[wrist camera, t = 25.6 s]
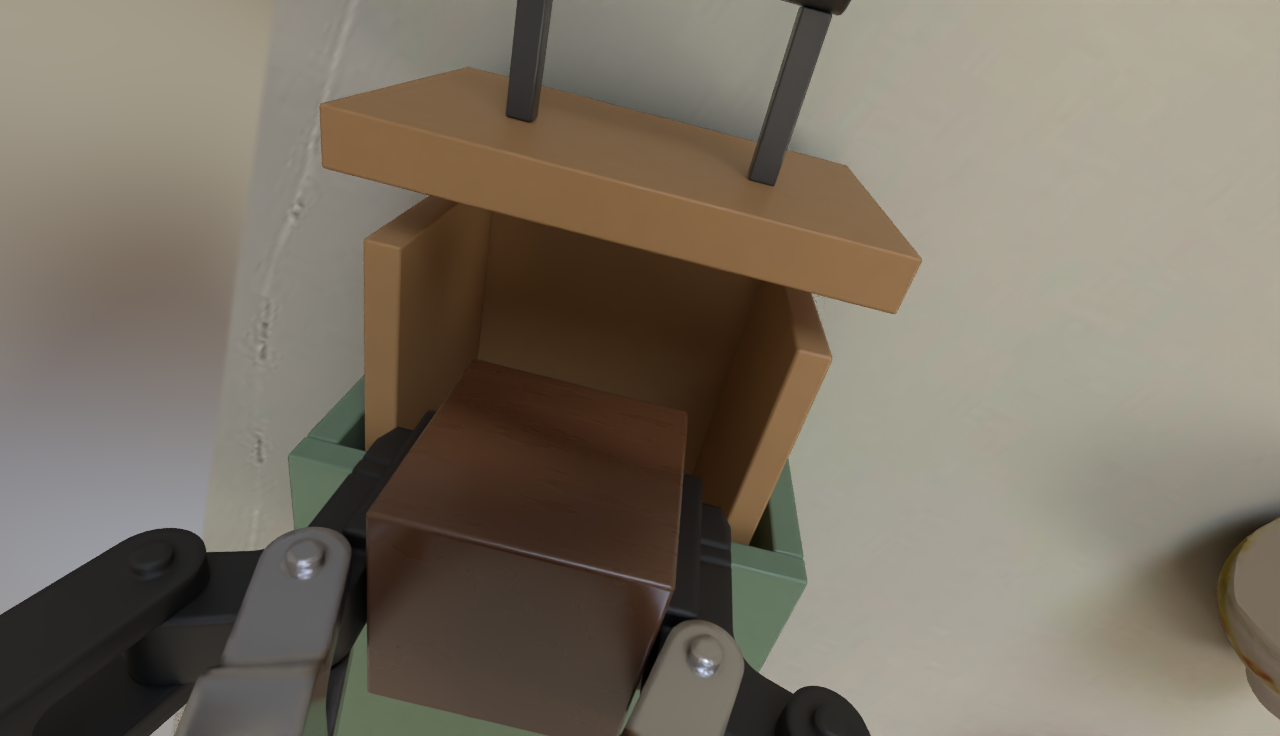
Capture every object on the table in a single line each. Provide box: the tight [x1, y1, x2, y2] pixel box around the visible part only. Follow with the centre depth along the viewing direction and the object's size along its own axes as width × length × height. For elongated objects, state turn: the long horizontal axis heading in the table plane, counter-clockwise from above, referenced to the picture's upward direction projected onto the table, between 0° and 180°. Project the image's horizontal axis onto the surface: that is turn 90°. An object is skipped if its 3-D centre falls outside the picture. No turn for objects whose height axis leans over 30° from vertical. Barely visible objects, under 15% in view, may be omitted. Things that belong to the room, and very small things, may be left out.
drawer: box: [320, 0, 922, 545], centre depth 17 cm, size 18×11×8 cm, turn 167°
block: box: [366, 359, 688, 736], centre depth 12 cm, size 4×4×4 cm
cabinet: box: [288, 375, 807, 736], centre depth 22 cm, size 15×13×10 cm
